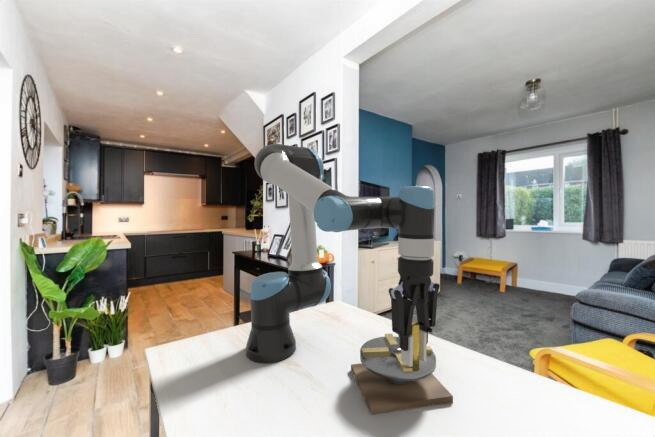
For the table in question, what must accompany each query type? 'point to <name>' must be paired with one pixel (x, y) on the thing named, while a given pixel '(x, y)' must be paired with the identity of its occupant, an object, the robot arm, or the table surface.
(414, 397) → the wheel stand
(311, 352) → the table surface
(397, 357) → the handwheel
